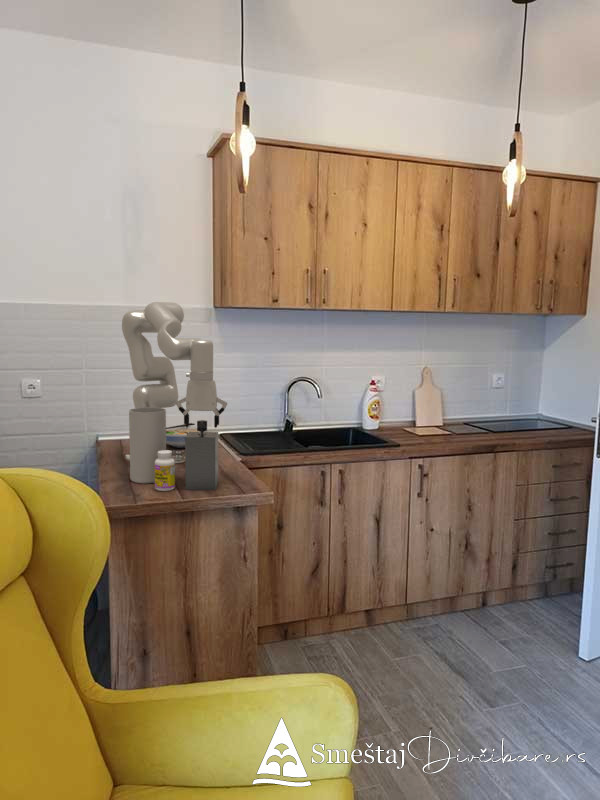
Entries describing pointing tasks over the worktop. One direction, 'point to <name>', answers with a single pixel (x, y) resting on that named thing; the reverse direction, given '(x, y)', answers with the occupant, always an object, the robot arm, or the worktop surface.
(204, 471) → the tall grey rectangular prism
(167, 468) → the supplement bottle
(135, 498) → the worktop surface
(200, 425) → the plunger
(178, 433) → the ramen bowl
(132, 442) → the cylinder vase
